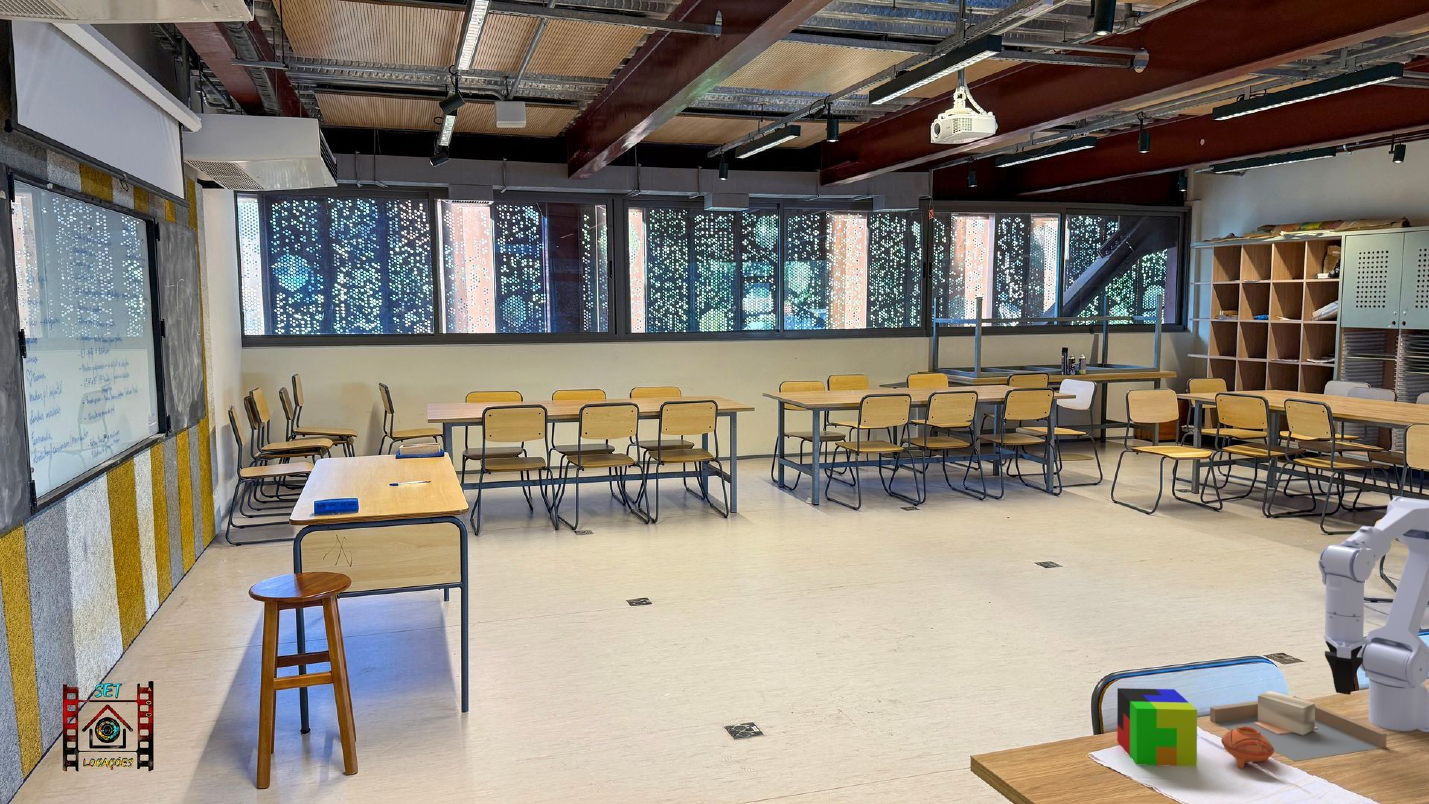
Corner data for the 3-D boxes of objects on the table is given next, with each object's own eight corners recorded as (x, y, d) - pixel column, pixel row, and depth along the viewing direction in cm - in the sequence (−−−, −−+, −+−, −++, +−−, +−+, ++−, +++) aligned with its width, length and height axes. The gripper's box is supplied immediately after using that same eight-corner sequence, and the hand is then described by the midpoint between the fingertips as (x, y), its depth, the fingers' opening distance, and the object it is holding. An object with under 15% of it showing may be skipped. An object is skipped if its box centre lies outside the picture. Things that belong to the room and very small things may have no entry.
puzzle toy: (1173, 743, 170) (1174, 689, 169) (1196, 766, 160) (1197, 709, 159) (1117, 741, 171) (1117, 688, 170) (1136, 765, 161) (1136, 708, 160)
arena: (1294, 712, 183) (1294, 696, 183) (1386, 751, 164) (1386, 733, 164) (1210, 724, 178) (1210, 707, 178) (1294, 765, 159) (1295, 746, 159)
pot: (1207, 756, 163) (1214, 717, 164) (1243, 761, 165) (1249, 723, 165) (1244, 773, 155) (1251, 733, 156) (1280, 779, 157) (1288, 739, 158)
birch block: (1269, 716, 179) (1270, 690, 178) (1314, 729, 172) (1315, 703, 172) (1257, 721, 176) (1257, 695, 176) (1302, 735, 170) (1303, 708, 169)
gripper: (1372, 625, 159) (1371, 703, 160) (1370, 606, 171) (1369, 679, 171) (1323, 619, 163) (1322, 695, 163) (1324, 601, 175) (1323, 672, 175)
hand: (1343, 686), depth 168 cm, fingers open, 7 cm apart
